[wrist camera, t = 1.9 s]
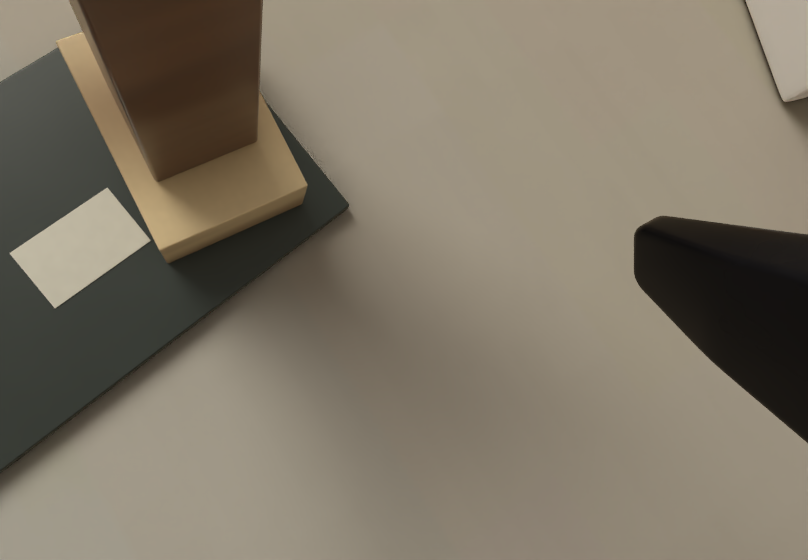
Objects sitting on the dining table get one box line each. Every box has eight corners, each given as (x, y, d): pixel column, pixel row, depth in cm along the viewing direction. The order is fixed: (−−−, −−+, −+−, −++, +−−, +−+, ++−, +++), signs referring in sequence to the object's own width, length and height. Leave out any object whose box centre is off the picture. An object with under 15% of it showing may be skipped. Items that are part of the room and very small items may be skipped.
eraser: (303, 204, 22) (393, -107, 8) (167, 264, 21) (16, 17, 7) (211, 23, 22) (153, -563, 9) (72, 73, 21) (-248, -515, 7)
